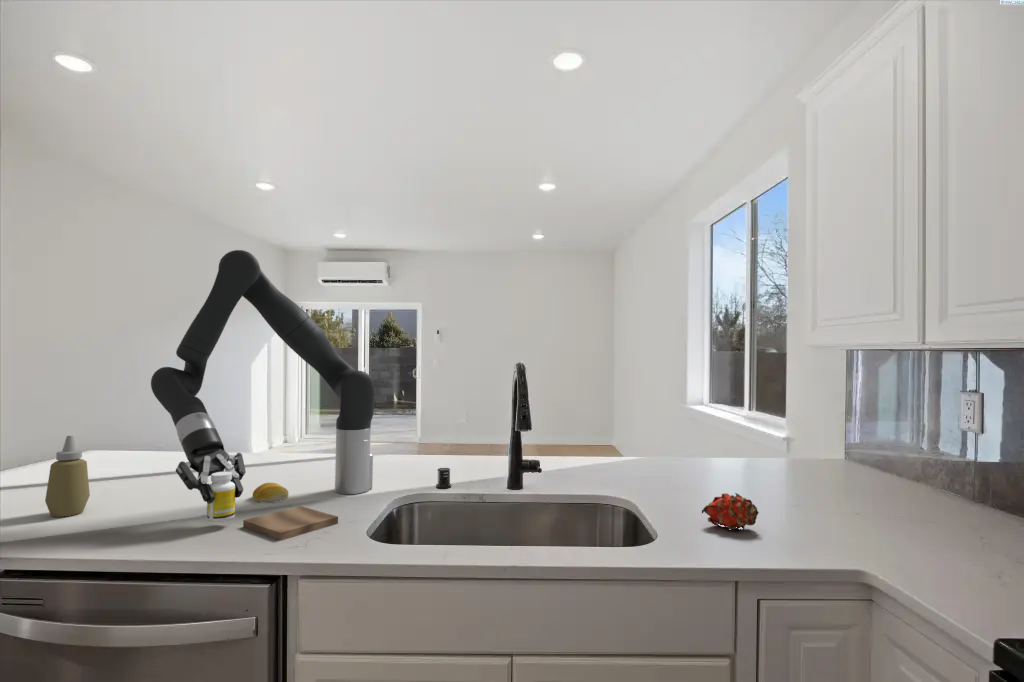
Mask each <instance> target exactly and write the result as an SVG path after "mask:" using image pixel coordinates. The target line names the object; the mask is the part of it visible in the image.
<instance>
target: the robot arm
mask: <svg viewBox="0 0 1024 682" xmlns="http://www.w3.org/2000/svg"><path fill="white" fill-rule="evenodd" d="M217 269H218V271H217V273H216V276H215V280H214V281H213V285H212V288H211V289H210V292H209V294H208V296H207V297H206V300H205V301H204V303H203V305H202V307H201V308H200V309H199V312H197V314H196V316H195V317H194V319H193V320H192V322H191V323H190V326H189V327H188V328H187V330H186V331H185V334H184V336H183V337H182V340H180V343H179V345H178V347H177V348H176V352H175V353H176V356H177V357H178V358H179V359H181V360H182V361H184V367H183V370H182V369H178V368H176V367H171V366H165V367H161V368H158V369H157V370H155V371H154V373H153V374H152V377H151V378H150V388H151V392H152V393H153V394H154V397H155V398H156V399H157V401H158V402H159V403H160V404H161V406H162V407H163V408H164V409H165V410H166V412H168V413H169V414H170V418H171V420H172V422H173V424H174V427H175V429H176V434H177V437H178V440H179V442H180V445H181V447H182V450H183V451H184V452H183V453H184V454H185V457H186V458H187V460H188V461H186V462H185V461H180V462H179V463H178V465H177V466H176V469H175V472H176V474H177V475H178V477H179V478H180V480H181V481H182V482H183V484H184V485H185V487H186V488H187V489H188V490H191V491H192V490H193V489H195V490H196V489H197V490H198V491H199V493H200V495H201V498H202V500H203V501H204V502H206V504H207V503H208V504H210V503H212V502H213V500H214V498H215V497H214V494H213V492H212V490H211V487H210V483H208V478H209V477H210V476H211V474H213V473H217V472H232V479H231V482H233V483H234V484H235V499H237V498H240V497H241V496H242V494H243V491H244V487H243V484H242V482H241V480H242V479H243V477H244V476H245V474H247V473H246V467H245V462H244V456H243V453H241V452H236V454H229V453H228V452H226V450H225V447H224V443H223V441H222V439H221V436H220V435H219V432H218V429H217V428H216V425H215V423H214V422H213V419H212V418H211V417H210V415H209V412H208V411H207V409H206V407H205V404H204V403H203V401H202V400H201V399H200V398H199V397H198V396H197V395H198V393H199V392H200V391H201V388H202V385H203V383H204V378H205V377H204V376H205V373H206V368H207V365H208V364H207V363H208V360H209V358H210V356H211V355H212V353H213V351H214V349H215V348H216V345H217V344H218V341H219V339H220V338H221V336H222V333H223V332H224V329H225V327H226V325H227V324H228V321H229V319H230V316H231V315H232V313H233V311H234V309H235V307H236V306H237V305H238V303H239V301H240V300H241V299H242V297H243V298H244V299H245V300H247V301H248V302H249V303H250V304H251V305H252V307H254V308H255V309H256V311H258V313H259V314H260V315H261V317H262V318H263V319H264V320H265V322H266V323H267V325H269V327H270V328H271V329H272V330H273V331H274V333H275V334H276V335H277V336H278V337H279V338H280V339H281V340H282V341H283V342H284V343H285V345H287V346H288V347H289V348H290V349H291V350H292V351H293V352H294V353H296V354H297V356H298V357H300V358H301V359H302V360H303V361H304V362H305V363H307V364H308V365H309V366H310V367H311V368H313V369H314V371H316V372H317V373H318V374H319V375H320V377H321V378H322V379H323V380H324V381H325V383H327V385H328V386H329V387H330V389H331V391H333V393H334V394H335V395H336V396H337V398H338V399H340V401H339V402H340V404H339V414H338V417H336V421H335V424H336V425H335V428H336V429H335V464H334V465H335V467H334V468H335V469H334V470H335V472H334V479H335V480H334V492H335V493H337V494H341V495H357V494H362V493H366V492H369V491H370V490H371V489H370V488H372V489H373V479H374V478H373V476H374V475H373V474H374V472H373V470H374V464H373V463H374V456H373V454H372V453H371V432H372V431H371V428H372V421H373V416H374V411H375V407H374V406H375V384H374V380H373V377H371V375H370V374H369V373H367V372H366V371H363V370H357V369H355V368H353V367H352V366H351V365H350V364H349V363H347V362H346V360H345V359H343V358H342V357H341V356H340V355H339V354H338V352H336V350H335V349H334V347H333V345H332V343H331V342H330V341H329V338H328V337H327V335H326V333H324V331H323V330H322V328H321V327H320V325H319V324H317V322H316V321H315V320H314V319H313V318H312V317H311V316H310V315H309V314H308V313H307V312H306V311H305V310H304V309H303V308H301V307H300V306H299V305H298V304H296V303H295V302H294V301H293V300H292V299H290V298H289V297H288V296H286V294H283V293H282V292H281V291H279V289H278V288H277V287H276V286H275V285H274V284H273V283H272V282H271V280H270V279H269V278H268V277H267V275H266V274H265V273H264V271H262V269H261V267H260V263H259V261H258V259H257V258H256V257H255V255H253V254H252V253H251V252H249V251H246V250H244V249H243V250H242V249H241V250H240V249H235V250H231V251H228V252H226V253H225V254H224V255H223V256H222V257H221V258H220V260H219V263H218V268H217ZM230 463H231V464H230ZM192 470H193V471H195V472H196V473H197V476H195V474H194V473H193V471H192Z"/></svg>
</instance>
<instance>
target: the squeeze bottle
mask: <svg viewBox="0 0 1024 682" xmlns="http://www.w3.org/2000/svg"><path fill="white" fill-rule="evenodd" d="M55 456H56V460H57V461H54V462H53V463H51V464H50V468H49V475H48V479H47V480H48V481H47V488H46V494H45V500H44V502H45V505H46V507H47V510H48V512H49V514H50V516H51V517H56V518H62V517H64V516H65V517H71V515H72V516H76V515H79V514H82V513H83V512H84V510H85V508H86V507H87V503H88V500H89V498H90V495H91V494H90V492H91V491H90V481H89V471H88V463H87V460H85V459H84V458H82V457H83V450H81V449H80V450H79V449H77V445H76V441H75V438H74V435H67V436H66V437H65V440H64V444H63V447H62V450H61V451H57V452H56V455H55Z"/></svg>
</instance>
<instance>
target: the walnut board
mask: <svg viewBox="0 0 1024 682" xmlns="http://www.w3.org/2000/svg"><path fill="white" fill-rule="evenodd" d="M338 523H339V516H338V515H333V514H331V513H326V512H322V511H319V510H316V509H312V508H309V507H305V506H301V505H299V506H294V507H292V508H288V509H283V510H279V511H274V512H272V513H267V514H262V515H259V516H255V517H250V518H246V519H244V520H243V521H242V524H243V528H244V527H246V528H245V529H247V528H249V529H248V530H250V529H251V531H253V530H254V532H256V533H258V532H260V533H259V534H261V533H262V535H264V534H265V535H264V536H267V535H268V537H270V536H271V537H270V538H273V537H274V539H275V538H276V540H278V539H279V541H283V540H287V539H289V538H293V537H296V535H297V536H300V535H304V534H306V533H310V532H314V531H316V530H321V529H324V528H328V527H330V526H334V525H337V524H338ZM292 536H293V537H292ZM286 538H287V539H286Z"/></svg>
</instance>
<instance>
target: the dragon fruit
mask: <svg viewBox="0 0 1024 682" xmlns="http://www.w3.org/2000/svg"><path fill="white" fill-rule="evenodd" d="M734 495H735V496H734ZM734 495H733V494H732V495H730V494H728V493H721V496H715V497H714V498H713V500H712V501H711V502H709V503H708V504H707V505H705V506H704V508H702V510H701V514H703V513H704V514H706V515H707V516H709V517H707V522H708V523H711V524H714V525H713V526H716V525H718V524H720V525H724V526H728V527H727V529H728V528H729V529H735V530H737V529H736V527H737V528H740V527H742V528H744V529H745V526H746V525H747V526H754V525H755V524H756V520H757V518H758V515H759V514H760V512H759V510H758V508H757V506H756V505H755V504H754V503H753V501H752V500H751V499H747V498H746V497H743V496H741V495H740V494H739V493H737V492H735V493H734ZM733 527H734V528H733Z"/></svg>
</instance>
